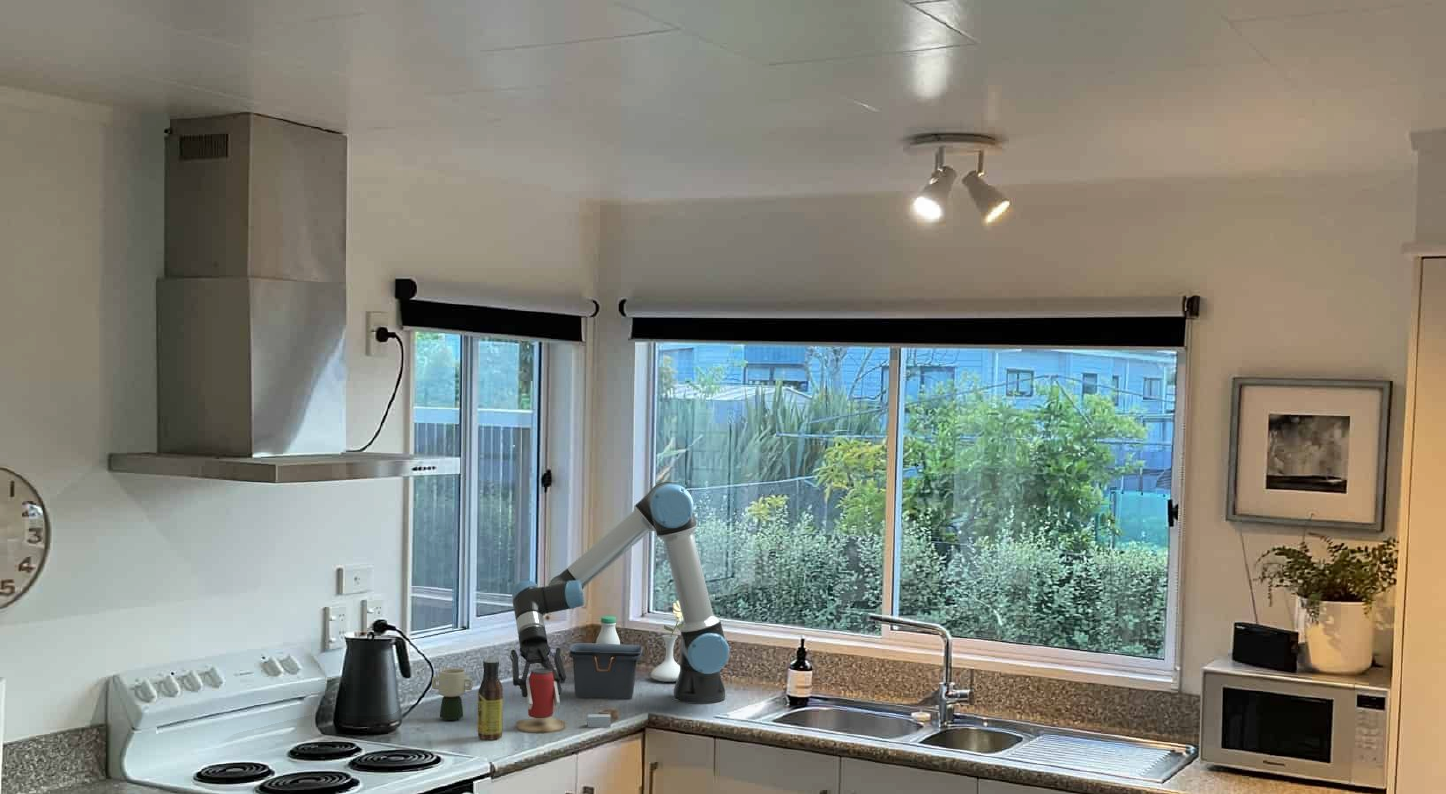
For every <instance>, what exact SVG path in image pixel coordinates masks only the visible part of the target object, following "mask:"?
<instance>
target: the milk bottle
mask: <svg viewBox="0 0 1446 794" xmlns="http://www.w3.org/2000/svg"><path fill="white" fill-rule="evenodd" d="M616 624H617V617H616V616H612V615H611V616H610V615H609V616H608V615H607V616H601V618H600V625H601V626H600V627H601V629H600V632H599V634H598V636H597V638H596V642H595V643H597V644H620V645H621V641H620V637H619V635H618V633H617V630H616Z"/></svg>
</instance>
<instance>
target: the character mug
mask: <svg viewBox="0 0 1446 794" xmlns="http://www.w3.org/2000/svg"><path fill="white" fill-rule="evenodd" d="M466 673H467V671H466V670H465V669H464V668H458V667H457V668H456V667H455V668H443V669H440V670H439V671H438V676H433V677H432V678H431V688H432V689H433V690H438V694H439V695H440V696H441V697H442V699H441V705H440V711H439V717H440V719H442V720H451V721H452V720H458V719H460V718H463V717H464V711H463V709H464V708H463V700H462V697H461V696H463V695H465V692H466V691H472V690H473V679H472V678H471V677H466ZM436 681H438V685H436ZM466 682H468V686H466Z"/></svg>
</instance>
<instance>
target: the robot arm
mask: <svg viewBox="0 0 1446 794" xmlns="http://www.w3.org/2000/svg"><path fill="white" fill-rule="evenodd" d="M694 505H695V504H694V500H693V497H692V496H691V494H690V492H689V491H688V490H687V489H686V488H685V487H684V486H682V485H680V484H677V483H675V482H672V481H662V482H660V483H657V484H655V485H654V486H653V487H652V488H651V489H650V490H649V491H648V492H647V494H645V496H643V497H642V498H641V499H640V500H639V502H637V503H636V504H635V505H633V511H632V512H630V514H629V515H627V516H626V517H625V518H624V519H623V520H621V521H620V522H619V523H618V524H617V525H615V527H613V528H612V529H611V530H610V531H609V532H608V533H606V534H605V535H603V537H601V538H600V539H599V540H598V541H597V542H596V543H595V544H593V545H592V546H591V547H590V548H588V549H587V550H586V551H585V552H584V553H583V554H582V555H581V556H579V557H578V558H577V559H576V560H575V561H574V562H573V563H571V564H570V565H568V567H567V568H566V569H564V570H563V571H562V572H561V573H560V574H557V575H555V576H554V577H552V579H551V580H550V581H549V583H548V585H544V586H539V585H538V584H537V582H535V581H532V580H531V581H528V580H524V581H519V582H518V583H516V584H515V585H514V586H513V588H512V590H511V591H512V592H511V595H512V596H511V597H512V605H513V611H514V616H515V623H516V629H517V634H518V644H519V649H516V650H515V649H511V650H510V654H509V658H510V661H511V664H512V685H513V686H514V687H517V686H519V689H520V690H521V691H520V692H521V695H522V698H526V706H527V710H528V709H531V707H532V704H533V703H532V697H531V690H530V684H529V681H528V682H527V680H528V674H529V670H530V668H531V667H530V666H531V664H532V665H533V664H540V665H541V667H543V668H546V669H551V670H552V673H553V676H554V703H553V704H554V709H558V708H559V706H560V703H561V701H560V696H561V694H562V686H561V685H562V684H564V683H566V682H565V681H566V679H567V674H566V671H565V667H564V664H563V660H562V657H561V648H560V647H556V648H551V646H550V645H549V642H548V637H547V631H546V625H545V619H544V615H545V614H549V613H550V614H551V613H556V612H561V611H566V610H575V609H577V608H580V607H583V606H584V605H585V597H584V591H583V590H584V589H585V588H586V586H588V585H589V584H590V583H591V582H592V581H594V579H596V578H597V577H598V576H599V575H601V574H602V573H604V571H605V570H607V569H608V568H609V567H610V566H611V565H612V564H614V563H615V562H616V561H618V560H619V559H620V557H621V556H623V555H624V554H626V553H627V552H628V551H629V550H630V549H631V548H632V547H634V545H636V544H637V543H638V542H639V541H640V540H642V539H643V538H644V537H645V536H646V535H648V534H649V533H650V532H655V533H656V536H657V537H658V538H659V539H661V540H662V541H663V543H664V547H665V551H666V555H667V560H668V563H669V568H670V570H671V571H670V572H671V575H672V579H673V583H674V587H675V591H676V596H677V601H678V600H679V604H680V608H681V612H682V616H683V621H682V623H681V622H680V623H681V628H680V630H679V631H680V657H679V666H680V673H679V676H678V679H677V681H675V682H676V683H675V685H674V688H673V696H672V697H673V699H674V700H676V701H679V702H683V703H692V704H712V703H713V704H714V703H719V702H722V701H725V699H726V688H725V685H724V682H723V678H722V674H721V671H722V669H723V668H724V667H725V666H726V664H727V663H728V661H729V659H730V646H729V643H728V642H727V639H726V637H725V634H724V630H723V626H722V622H721V618H719V617H717V616H715V614H714V613H713V612H714V611H713V607H712V604H711V599H710V594H709V591H708V587H707V583H706V580H705V576H704V572H703V568H702V567H703V566H702V563H701V559H700V555H699V551H698V547H697V543H696V538H695V534H694V533H695V531H696V529H697V527H698V524H697V521H696V516H695V513H694ZM549 655H551V657H552V659H553V661H554V665H555V667H554V666H553V664H552V662H551V661H550V658H549ZM520 656H521V657H522V658H523V660H525V663H524V668H523V672H522V675H521V678H520V671H519V668H520V667H519V665H520V664H519V657H520ZM555 668H556V669H555Z"/></svg>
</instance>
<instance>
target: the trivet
mask: <svg viewBox="0 0 1446 794" xmlns="http://www.w3.org/2000/svg"><path fill="white" fill-rule="evenodd" d="M566 724H567V723H566V721H564V720H563V719H559V718H554V717H547V718H533V717H529V718H525V719H521V720H520V719H519V720H518V721H516V722H515V728H516V730H518V731H519V732H523V733H529V734H530V733H531V734H548V733H557V732H560V731H563V730H565V729H566V727H567V726H566Z"/></svg>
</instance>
